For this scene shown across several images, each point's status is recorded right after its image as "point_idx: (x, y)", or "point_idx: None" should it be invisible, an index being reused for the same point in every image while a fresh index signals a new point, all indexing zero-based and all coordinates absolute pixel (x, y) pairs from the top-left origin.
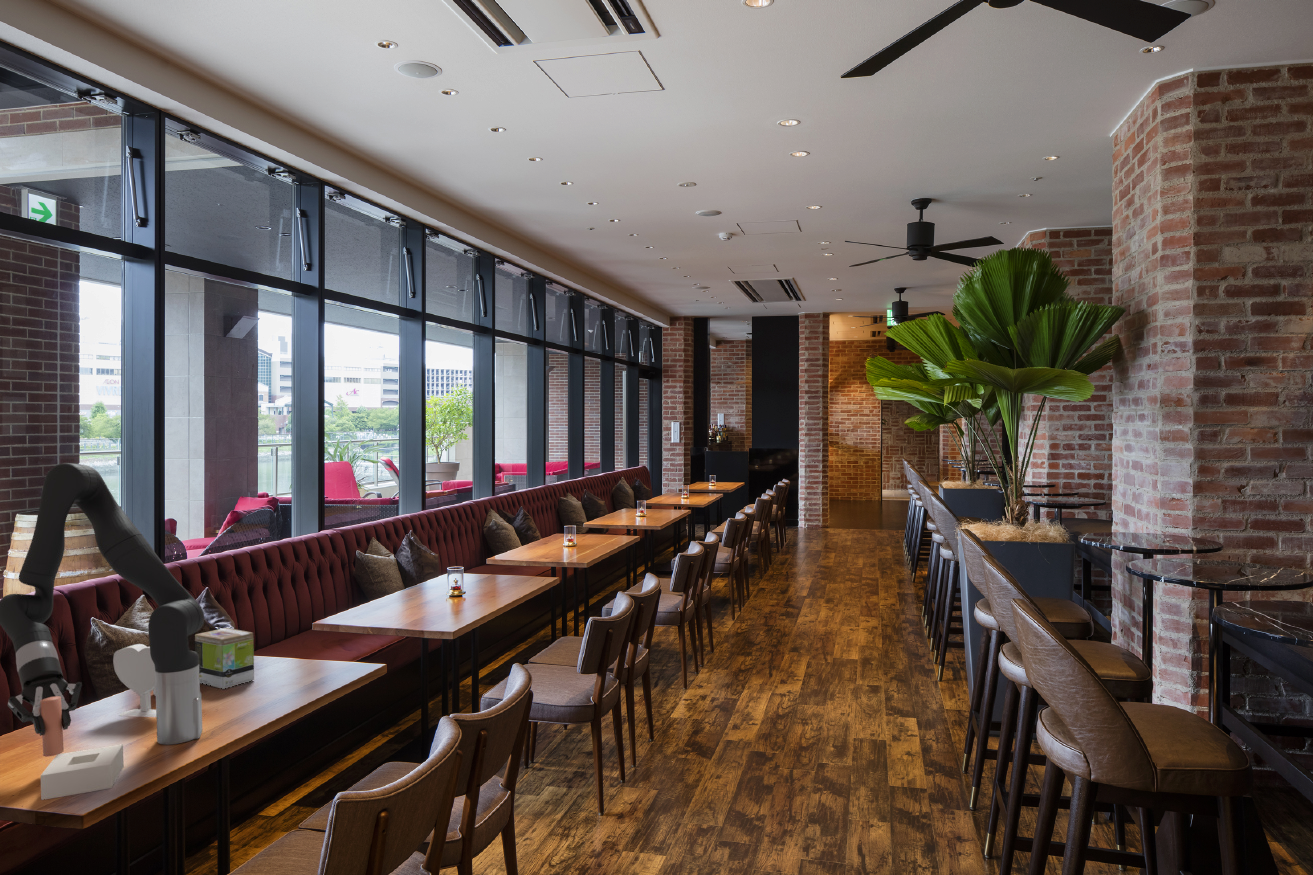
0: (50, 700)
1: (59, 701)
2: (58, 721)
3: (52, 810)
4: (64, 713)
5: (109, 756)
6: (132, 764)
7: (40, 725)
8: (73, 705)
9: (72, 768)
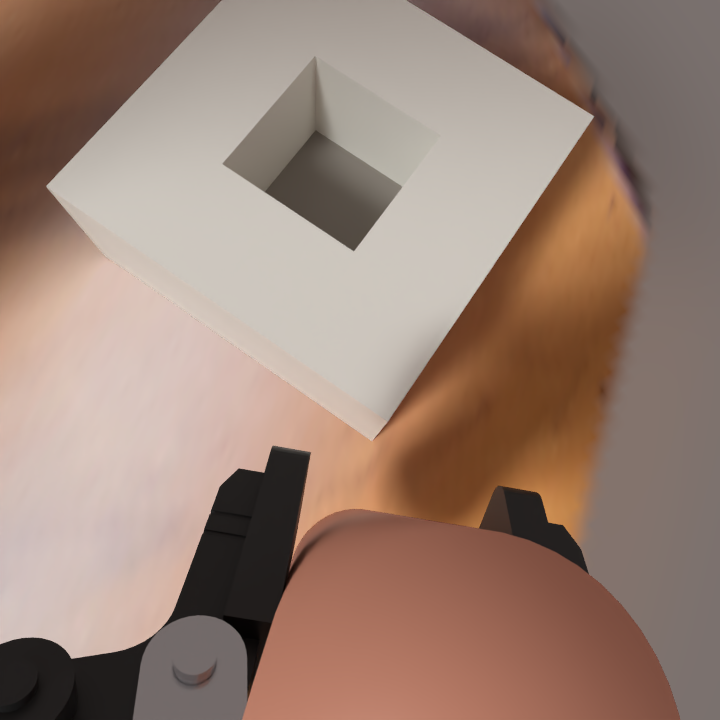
0: (519, 606)
1: (329, 567)
2: (351, 521)
3: (546, 39)
4: (255, 568)
5: (225, 49)
6: (63, 241)
7: (549, 539)
8: (60, 660)
9: (441, 58)
